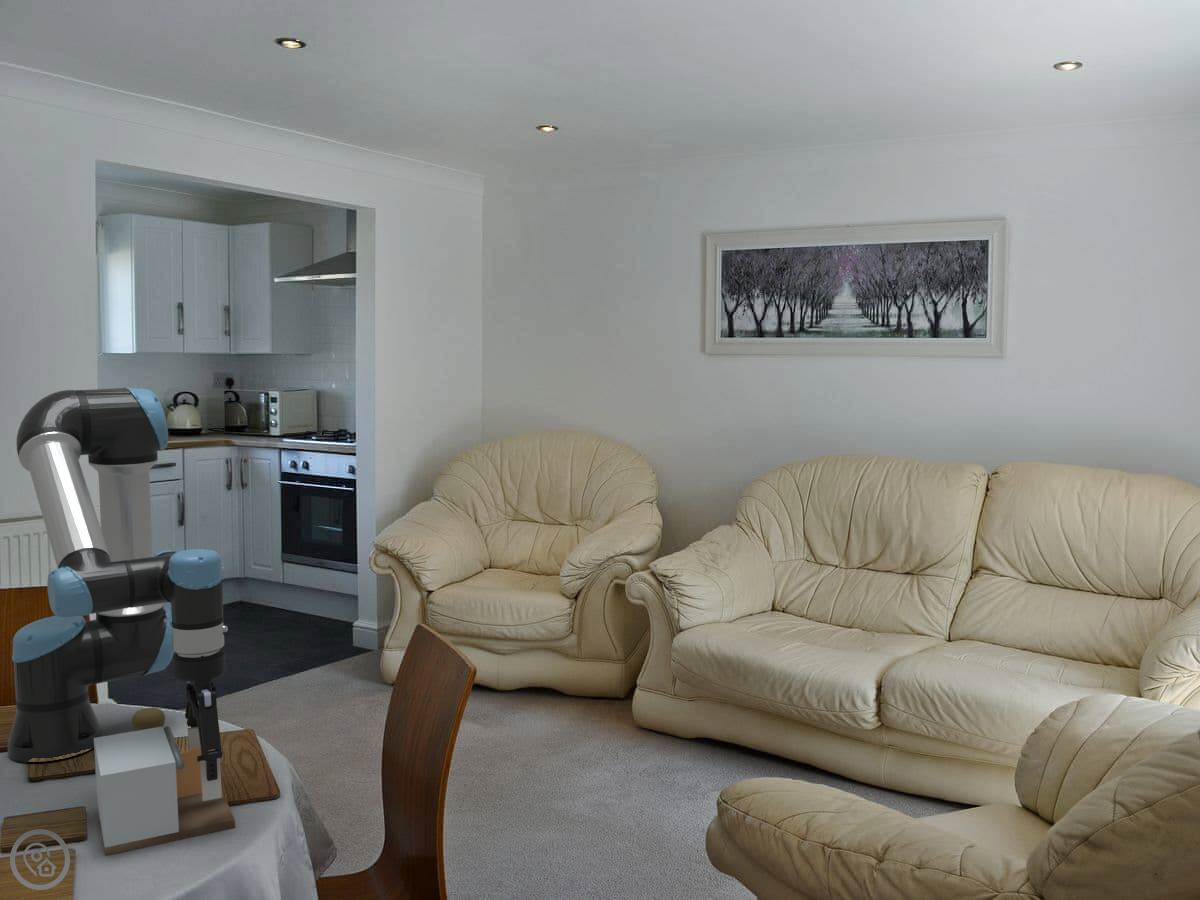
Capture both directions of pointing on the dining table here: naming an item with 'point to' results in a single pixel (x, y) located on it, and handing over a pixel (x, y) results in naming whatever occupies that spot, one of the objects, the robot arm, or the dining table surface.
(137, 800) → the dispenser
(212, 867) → the dining table surface
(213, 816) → the walnut board
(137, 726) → the olive brown ellipsoid
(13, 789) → the dining table surface
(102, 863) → the dining table surface
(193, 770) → the orange rectangular panel
